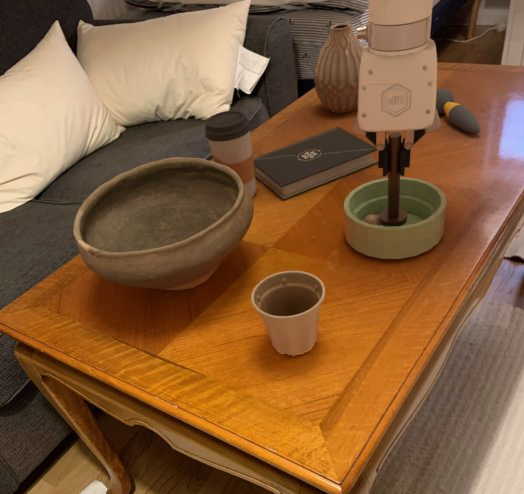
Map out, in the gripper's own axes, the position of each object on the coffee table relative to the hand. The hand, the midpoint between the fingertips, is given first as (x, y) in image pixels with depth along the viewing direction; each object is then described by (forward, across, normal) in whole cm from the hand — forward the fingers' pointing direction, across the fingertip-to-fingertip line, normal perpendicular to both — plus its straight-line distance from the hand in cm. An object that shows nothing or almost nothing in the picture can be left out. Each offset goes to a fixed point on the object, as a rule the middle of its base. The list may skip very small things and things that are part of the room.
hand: (393, 171), depth 78 cm
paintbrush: (+11, +11, +44) cm, 46 cm away
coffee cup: (+12, -30, +14) cm, 35 cm away
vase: (+11, -14, +54) cm, 57 cm away
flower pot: (+12, -12, -26) cm, 30 cm away
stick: (+9, 0, 0) cm, 9 cm away
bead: (+10, -4, 0) cm, 11 cm away
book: (+12, -17, +24) cm, 32 cm away
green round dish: (+11, 0, 0) cm, 11 cm away
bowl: (+12, -34, -10) cm, 37 cm away
